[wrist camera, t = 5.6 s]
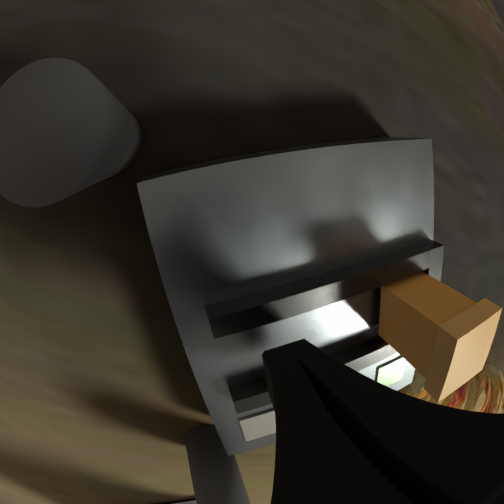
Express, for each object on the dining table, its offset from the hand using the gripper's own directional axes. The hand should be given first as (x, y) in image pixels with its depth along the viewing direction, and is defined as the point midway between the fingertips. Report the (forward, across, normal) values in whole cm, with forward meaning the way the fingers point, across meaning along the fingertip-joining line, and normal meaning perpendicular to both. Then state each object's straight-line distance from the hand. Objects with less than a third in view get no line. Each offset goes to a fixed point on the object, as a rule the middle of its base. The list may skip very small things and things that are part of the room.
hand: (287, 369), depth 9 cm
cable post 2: (+4, +4, +8) cm, 9 cm away
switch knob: (+1, -5, 0) cm, 5 cm away
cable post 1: (+4, +4, -8) cm, 9 cm away
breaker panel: (+4, -2, 0) cm, 4 cm away
